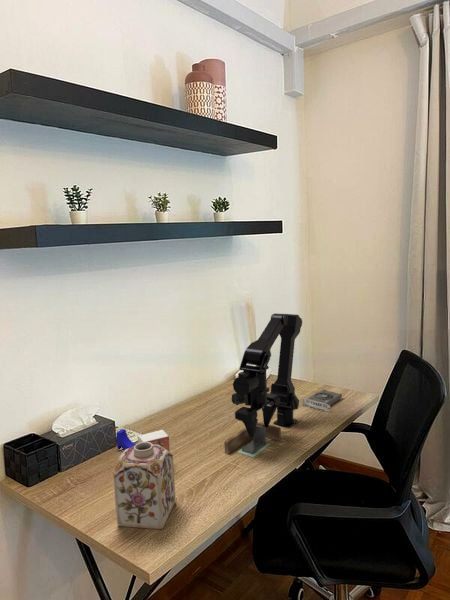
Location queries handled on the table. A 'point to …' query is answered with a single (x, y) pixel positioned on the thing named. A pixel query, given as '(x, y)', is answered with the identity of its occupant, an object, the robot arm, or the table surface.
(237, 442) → the corner walls
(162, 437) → the small box
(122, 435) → the blue saddle bracket
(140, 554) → the table surface
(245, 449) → the angle bracket
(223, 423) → the table surface
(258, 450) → the mat
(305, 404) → the graphics card
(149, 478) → the decorative jar
